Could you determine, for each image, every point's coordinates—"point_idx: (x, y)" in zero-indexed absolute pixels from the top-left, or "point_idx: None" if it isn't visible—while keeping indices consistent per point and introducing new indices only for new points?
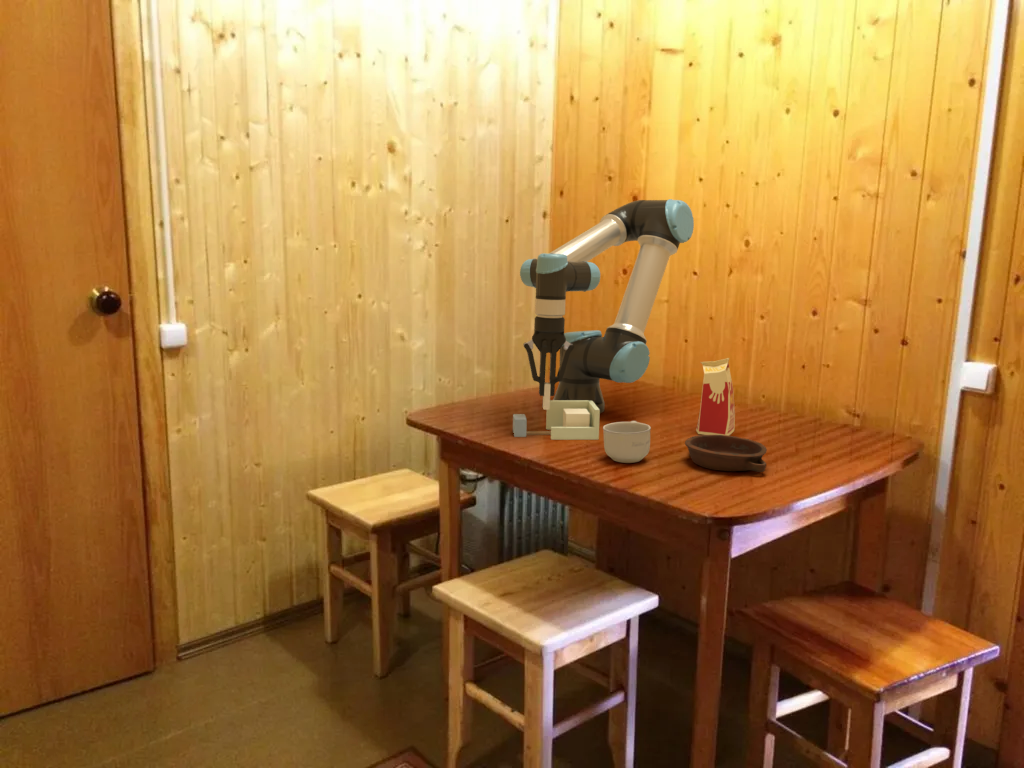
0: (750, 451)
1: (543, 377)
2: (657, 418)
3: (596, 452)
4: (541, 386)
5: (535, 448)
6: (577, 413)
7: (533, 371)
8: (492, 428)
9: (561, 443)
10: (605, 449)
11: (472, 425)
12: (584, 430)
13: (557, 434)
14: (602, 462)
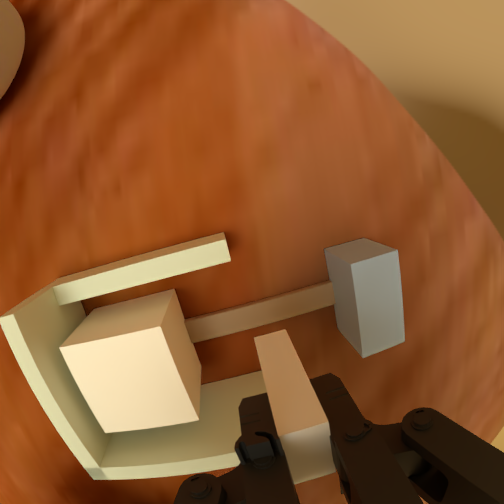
0: None
1: (361, 460)
2: (23, 488)
3: (51, 105)
4: (346, 412)
5: (266, 91)
6: (110, 345)
7: (474, 452)
8: (429, 324)
9: (175, 185)
10: (22, 23)
11: (470, 334)
12: (89, 274)
13: (198, 241)
14: (47, 16)
